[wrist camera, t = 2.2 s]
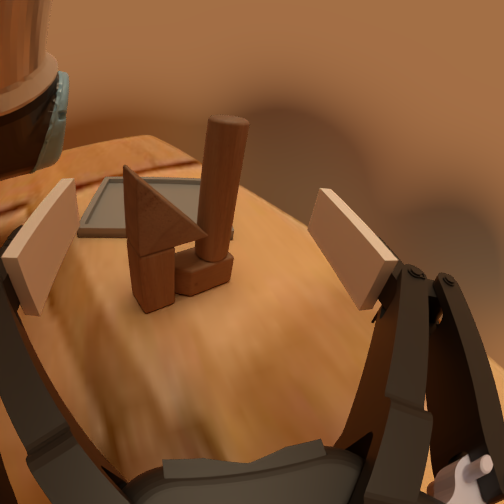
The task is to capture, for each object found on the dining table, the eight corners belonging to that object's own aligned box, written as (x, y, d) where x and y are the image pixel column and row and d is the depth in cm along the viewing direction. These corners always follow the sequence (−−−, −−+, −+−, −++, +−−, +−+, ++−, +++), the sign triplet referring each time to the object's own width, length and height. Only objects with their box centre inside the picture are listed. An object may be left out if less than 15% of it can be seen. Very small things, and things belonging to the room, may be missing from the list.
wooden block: (131, 292, 29) (123, 118, 18) (213, 264, 35) (234, 114, 25) (145, 315, 27) (137, 126, 16) (231, 282, 33) (260, 122, 23)
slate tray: (77, 237, 34) (76, 227, 33) (105, 184, 48) (105, 176, 47) (232, 239, 40) (233, 230, 39) (218, 186, 54) (219, 179, 53)
